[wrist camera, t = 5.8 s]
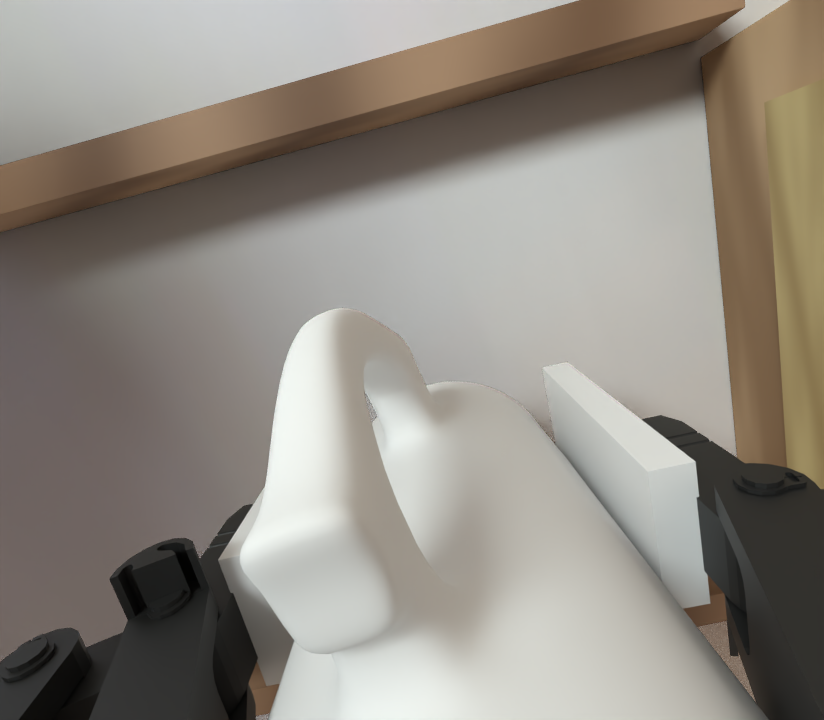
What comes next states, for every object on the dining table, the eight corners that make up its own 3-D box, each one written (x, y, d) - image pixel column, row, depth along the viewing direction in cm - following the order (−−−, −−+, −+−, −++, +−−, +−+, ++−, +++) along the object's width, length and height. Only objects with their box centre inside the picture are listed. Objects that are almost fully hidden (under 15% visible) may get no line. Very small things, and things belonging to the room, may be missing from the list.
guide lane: (181, 688, 20) (156, 736, 18) (-45, 203, 15) (-111, 197, 13) (747, 570, 19) (786, 608, 17) (695, -6, 14) (741, -46, 12)
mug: (585, 523, 15) (1101, 1367, 4) (398, 588, 16) (354, 1481, 4) (477, 232, 13) (921, 143, 2) (266, 322, 14) (-485, 713, 2)
